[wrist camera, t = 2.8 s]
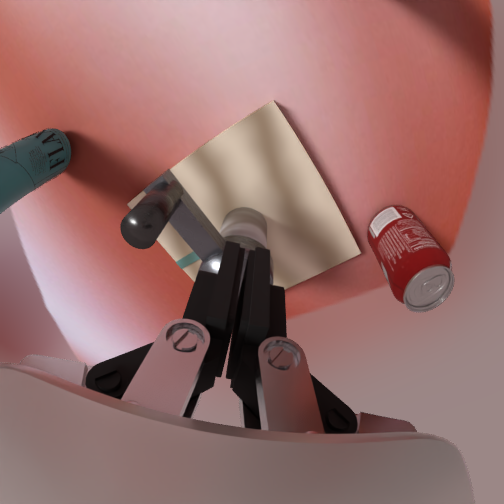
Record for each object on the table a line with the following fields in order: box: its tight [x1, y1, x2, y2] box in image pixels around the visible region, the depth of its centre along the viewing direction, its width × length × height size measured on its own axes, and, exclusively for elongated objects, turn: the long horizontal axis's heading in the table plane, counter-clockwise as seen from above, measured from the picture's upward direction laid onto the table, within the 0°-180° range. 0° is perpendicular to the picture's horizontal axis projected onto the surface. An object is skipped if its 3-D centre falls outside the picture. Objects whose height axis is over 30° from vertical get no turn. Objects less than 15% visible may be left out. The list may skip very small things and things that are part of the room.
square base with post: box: [127, 100, 361, 290], centre depth 30 cm, size 20×20×8 cm
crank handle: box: [121, 169, 274, 296], centre depth 22 cm, size 14×6×7 cm, turn 33°
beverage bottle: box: [0, 128, 71, 214], centre depth 21 cm, size 6×7×20 cm
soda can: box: [367, 205, 454, 312], centre depth 28 cm, size 7×7×12 cm
